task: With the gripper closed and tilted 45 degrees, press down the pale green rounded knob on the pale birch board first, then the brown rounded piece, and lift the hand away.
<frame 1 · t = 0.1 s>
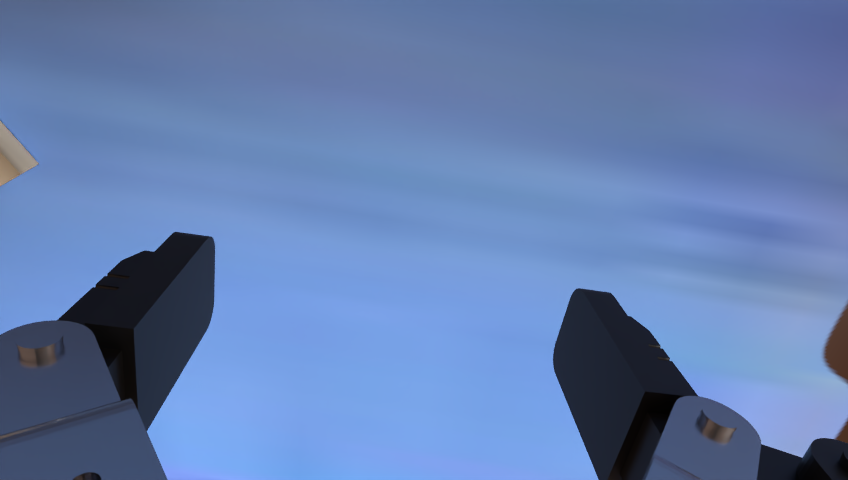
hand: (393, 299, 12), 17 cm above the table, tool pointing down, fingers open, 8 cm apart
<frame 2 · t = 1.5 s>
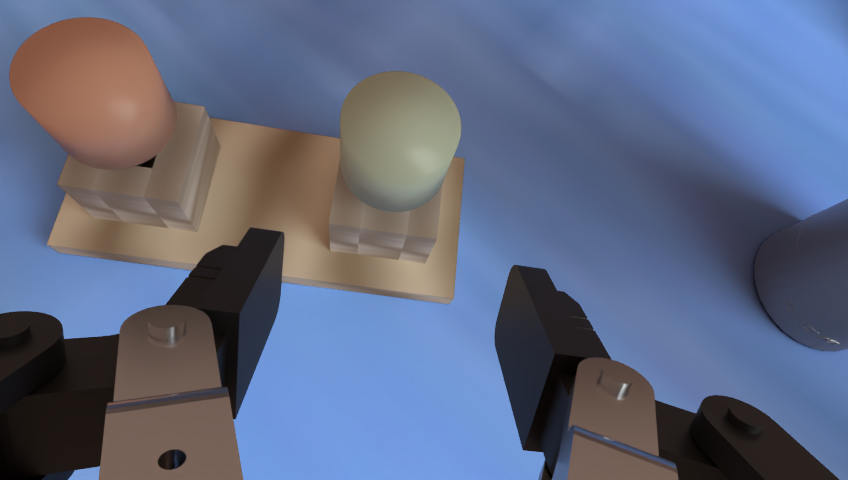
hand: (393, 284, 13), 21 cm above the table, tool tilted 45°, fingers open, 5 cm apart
button board: (276, 207, 35), on the table
pale green rounded knob: (394, 157, 28), point 9 cm above the table, slide at 0.0 cm
brown rounded piece: (113, 113, 26), point 9 cm above the table, slide at 0.0 cm
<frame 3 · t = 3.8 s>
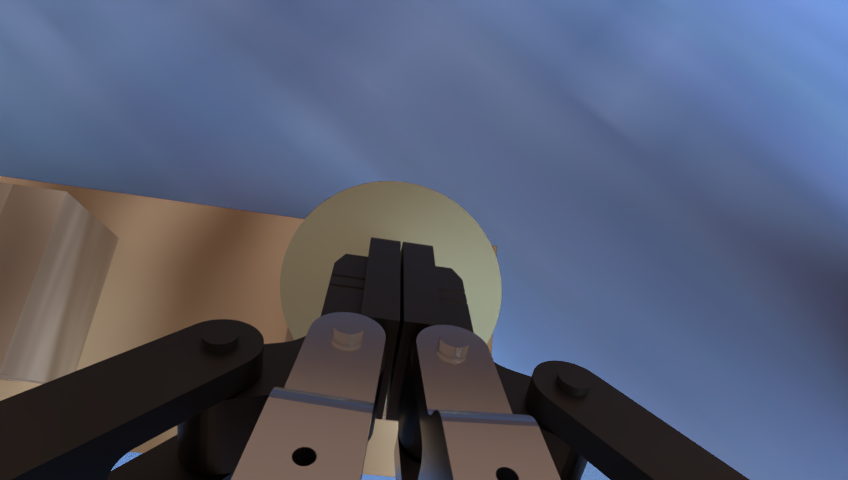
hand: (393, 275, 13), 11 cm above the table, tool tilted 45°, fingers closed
button board: (209, 328, 23), on the table
pale green rounded knob: (384, 310, 17), point 7 cm above the table, slide at 1.5 cm, touching gripper
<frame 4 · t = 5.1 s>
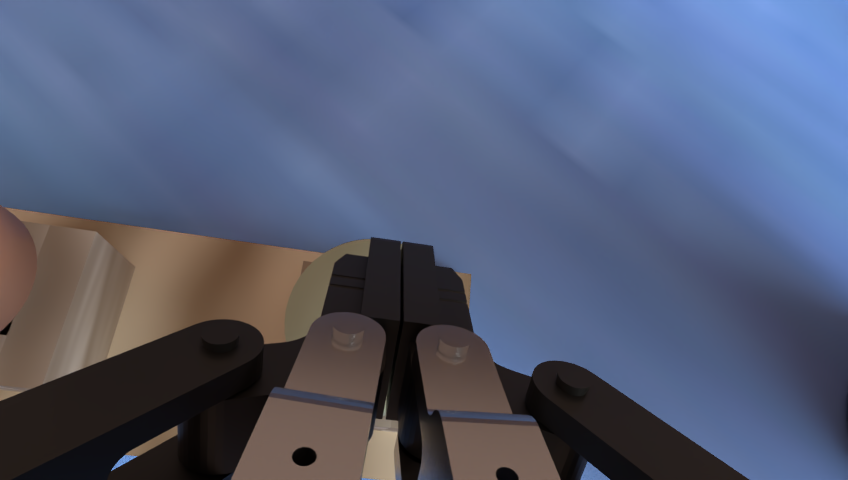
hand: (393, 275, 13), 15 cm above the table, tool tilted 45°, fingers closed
button board: (214, 347, 26), on the table
pale green rounded knob: (367, 339, 20), point 7 cm above the table, slide at 2.1 cm
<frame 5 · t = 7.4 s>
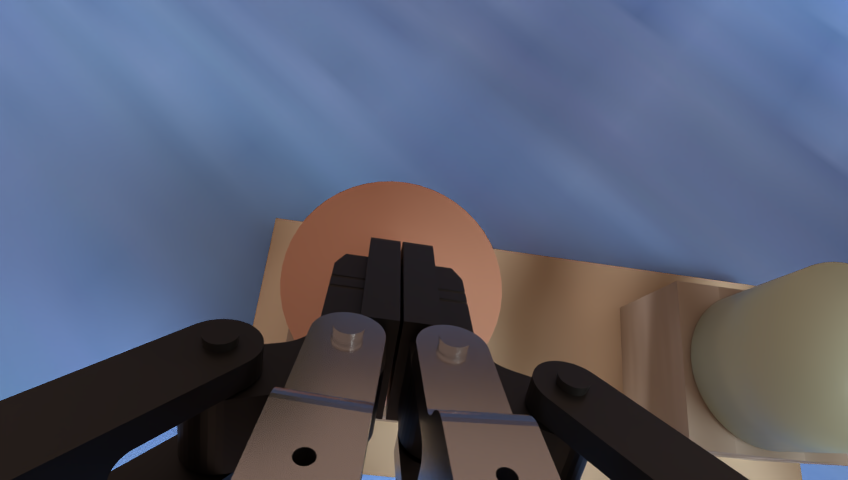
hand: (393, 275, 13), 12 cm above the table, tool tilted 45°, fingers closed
button board: (523, 367, 24), on the table
pale green rounded knob: (775, 367, 19), point 7 cm above the table, slide at 2.1 cm
brown rounded piece: (384, 311, 17), point 8 cm above the table, slide at 1.2 cm, touching gripper
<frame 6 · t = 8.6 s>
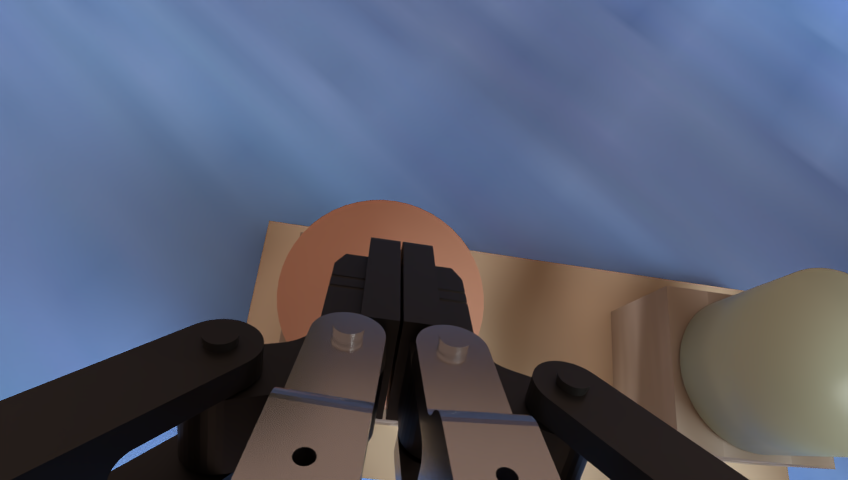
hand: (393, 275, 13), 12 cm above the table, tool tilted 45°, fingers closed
button board: (515, 371, 25), on the table
pale green rounded knob: (762, 371, 19), point 7 cm above the table, slide at 2.1 cm
brown rounded piece: (374, 320, 18), point 7 cm above the table, slide at 2.1 cm
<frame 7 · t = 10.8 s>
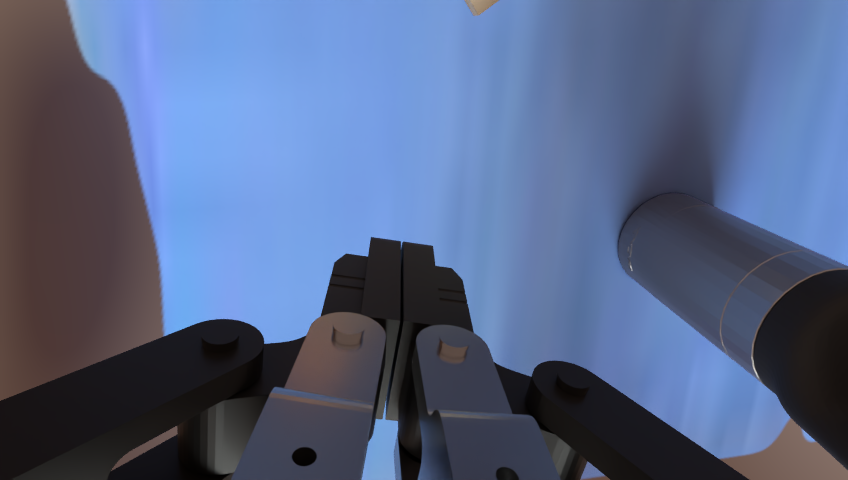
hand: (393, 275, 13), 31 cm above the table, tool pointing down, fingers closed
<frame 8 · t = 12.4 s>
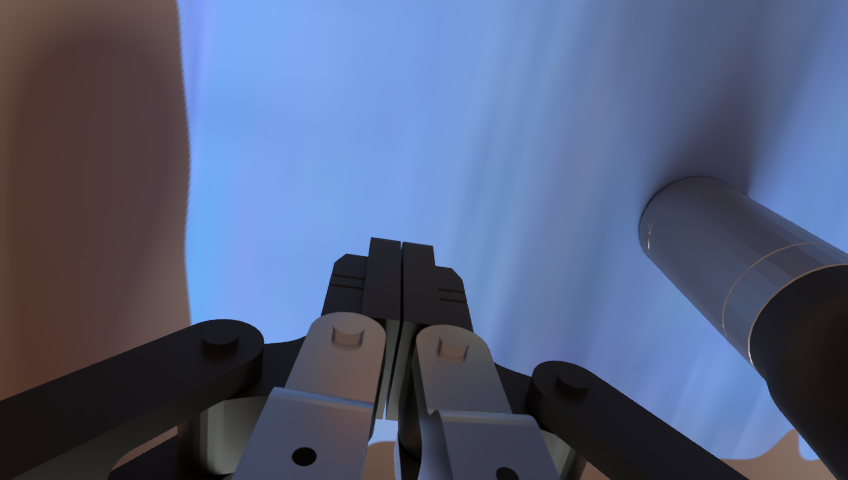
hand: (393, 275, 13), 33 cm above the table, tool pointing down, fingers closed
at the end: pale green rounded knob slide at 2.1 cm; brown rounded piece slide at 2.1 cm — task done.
